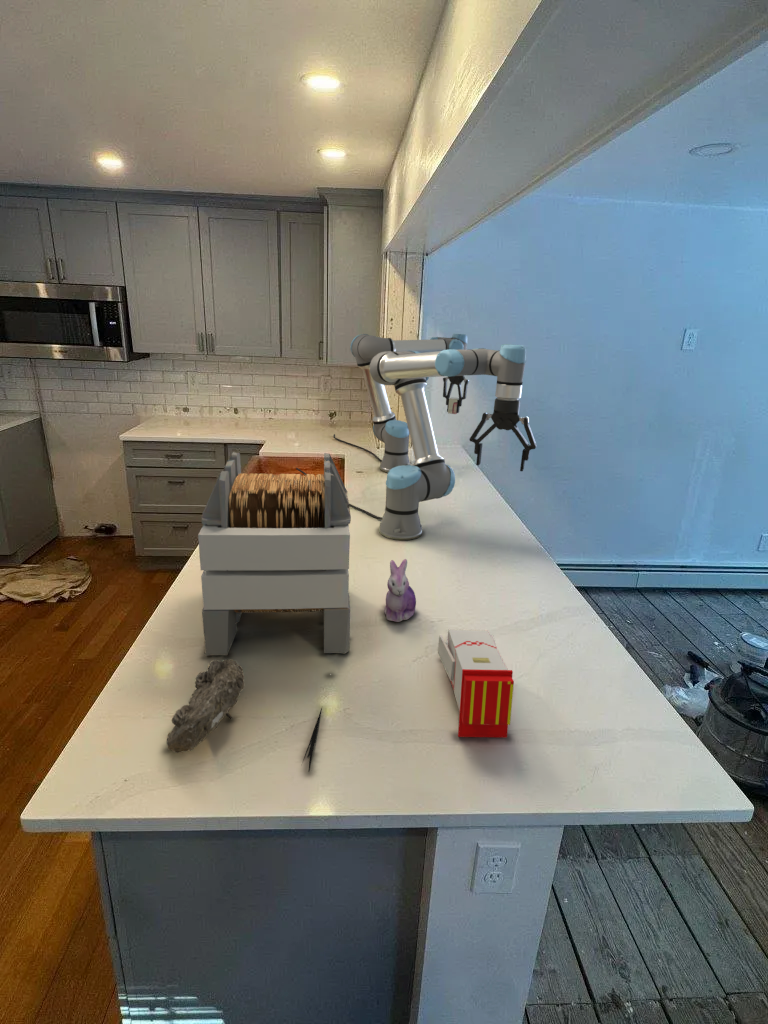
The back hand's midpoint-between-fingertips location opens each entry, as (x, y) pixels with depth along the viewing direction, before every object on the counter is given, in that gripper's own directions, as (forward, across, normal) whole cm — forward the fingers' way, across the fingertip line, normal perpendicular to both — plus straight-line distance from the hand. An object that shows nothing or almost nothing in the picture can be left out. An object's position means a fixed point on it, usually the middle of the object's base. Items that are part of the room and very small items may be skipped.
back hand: (453, 412), depth 294 cm
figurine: (+26, -32, +164) cm, 169 cm away
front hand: (-4, -45, +115) cm, 123 cm away
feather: (+27, -32, +208) cm, 212 cm away
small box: (+1, 0, 0) cm, 1 cm away
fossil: (+27, -13, +216) cm, 218 cm away
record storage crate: (+27, -6, +179) cm, 181 cm away
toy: (+26, -56, +188) cm, 198 cm away
